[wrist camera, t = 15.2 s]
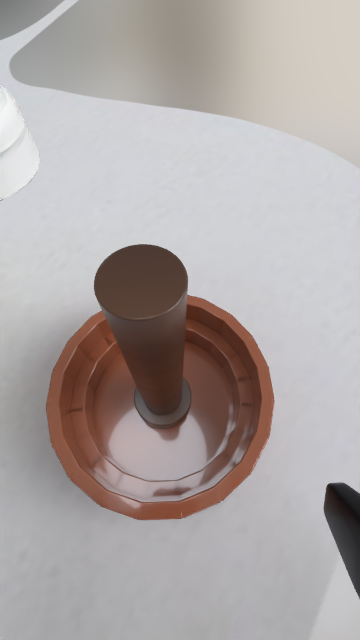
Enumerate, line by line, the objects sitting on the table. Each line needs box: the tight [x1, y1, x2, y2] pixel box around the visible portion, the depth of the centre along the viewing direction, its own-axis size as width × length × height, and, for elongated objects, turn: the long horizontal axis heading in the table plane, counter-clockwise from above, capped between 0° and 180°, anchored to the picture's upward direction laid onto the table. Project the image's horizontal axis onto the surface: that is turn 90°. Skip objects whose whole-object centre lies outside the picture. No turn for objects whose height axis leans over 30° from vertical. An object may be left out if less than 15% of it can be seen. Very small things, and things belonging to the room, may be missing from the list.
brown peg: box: [94, 244, 191, 429], centre depth 13 cm, size 4×4×14 cm
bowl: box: [46, 295, 274, 520], centre depth 18 cm, size 12×12×4 cm
